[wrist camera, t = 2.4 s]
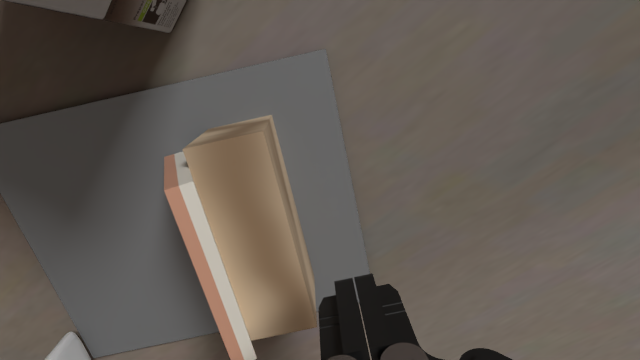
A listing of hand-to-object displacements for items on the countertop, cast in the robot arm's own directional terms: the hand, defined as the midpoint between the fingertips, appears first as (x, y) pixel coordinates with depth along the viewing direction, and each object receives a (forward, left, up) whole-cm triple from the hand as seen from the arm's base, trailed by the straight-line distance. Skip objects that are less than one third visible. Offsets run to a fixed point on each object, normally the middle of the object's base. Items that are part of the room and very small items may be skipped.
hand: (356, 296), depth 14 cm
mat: (-10, 0, -11) cm, 15 cm away
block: (-5, 0, -11) cm, 12 cm away
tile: (-8, 0, -7) cm, 10 cm away
